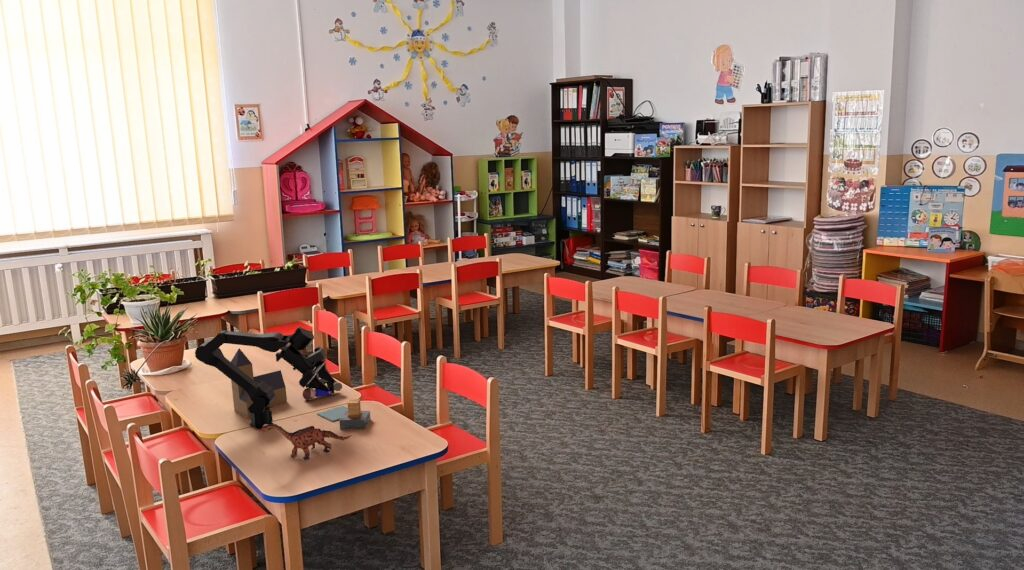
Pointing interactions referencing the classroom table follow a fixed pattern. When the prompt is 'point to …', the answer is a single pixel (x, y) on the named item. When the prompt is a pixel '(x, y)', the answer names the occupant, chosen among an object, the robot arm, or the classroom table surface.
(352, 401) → the peg
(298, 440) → the toy dinosaur
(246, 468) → the classroom table surface
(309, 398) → the figurine character
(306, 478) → the classroom table surface
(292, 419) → the classroom table surface
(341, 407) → the pad
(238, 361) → the toy building blocks
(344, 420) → the socket block
